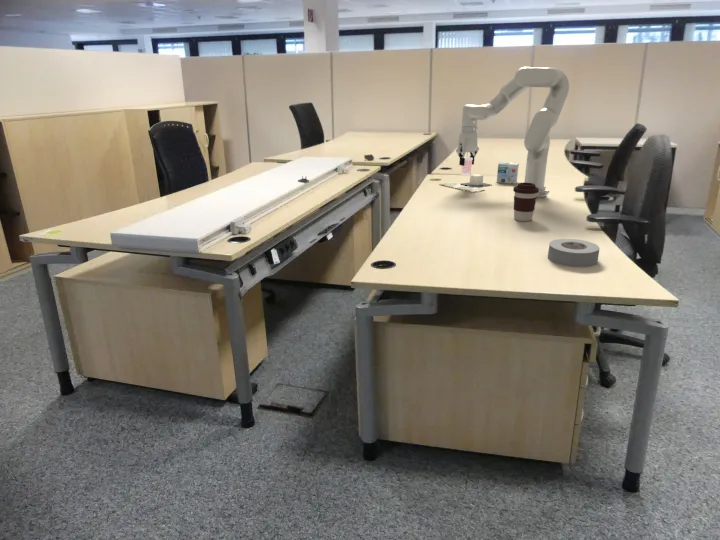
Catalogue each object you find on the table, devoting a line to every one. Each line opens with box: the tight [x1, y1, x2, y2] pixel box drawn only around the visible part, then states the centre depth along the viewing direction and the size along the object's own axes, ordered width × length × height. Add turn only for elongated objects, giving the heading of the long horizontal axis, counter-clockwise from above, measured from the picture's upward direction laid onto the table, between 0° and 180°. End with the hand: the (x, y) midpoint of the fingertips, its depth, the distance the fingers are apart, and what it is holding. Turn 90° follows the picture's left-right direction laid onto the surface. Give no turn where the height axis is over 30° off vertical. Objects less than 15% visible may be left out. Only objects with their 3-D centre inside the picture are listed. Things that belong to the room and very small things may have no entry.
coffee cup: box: [512, 182, 539, 222], centre depth 221 cm, size 10×10×15 cm
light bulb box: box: [496, 161, 520, 185], centre depth 300 cm, size 11×7×11 cm, turn 68°
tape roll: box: [547, 238, 600, 268], centre depth 174 cm, size 15×15×5 cm
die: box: [469, 173, 484, 185], centre depth 294 cm, size 5×5×5 cm
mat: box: [461, 181, 492, 188], centre depth 295 cm, size 12×12×1 cm
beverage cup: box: [461, 152, 473, 177], centre depth 280 cm, size 6×6×14 cm
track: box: [438, 182, 484, 193], centre depth 288 cm, size 26×9×1 cm, turn 33°
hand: (466, 164), depth 281 cm, fingers closed on beverage cup, 6 cm apart
